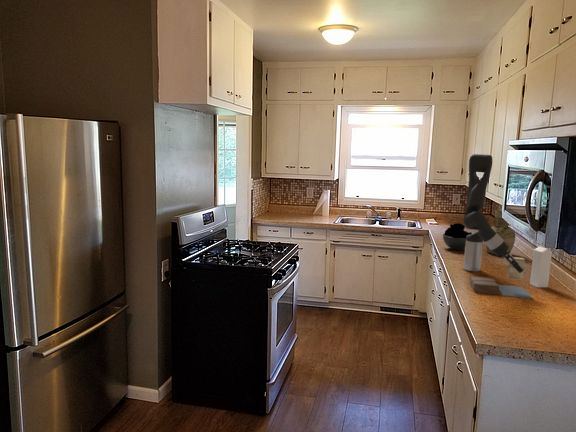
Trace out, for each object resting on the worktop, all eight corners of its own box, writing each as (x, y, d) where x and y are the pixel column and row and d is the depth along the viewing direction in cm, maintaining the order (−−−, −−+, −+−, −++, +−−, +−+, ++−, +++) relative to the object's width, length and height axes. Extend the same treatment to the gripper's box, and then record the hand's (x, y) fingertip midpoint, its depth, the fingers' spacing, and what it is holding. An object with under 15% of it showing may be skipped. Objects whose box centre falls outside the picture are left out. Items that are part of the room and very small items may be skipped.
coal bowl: (466, 247, 324) (469, 222, 321) (475, 253, 304) (478, 226, 301) (438, 246, 326) (441, 220, 323) (445, 251, 306) (448, 225, 303)
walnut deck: (469, 283, 231) (470, 275, 230) (492, 285, 228) (492, 278, 228) (473, 291, 217) (474, 283, 216) (498, 294, 214) (498, 286, 213)
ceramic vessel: (485, 248, 322) (490, 208, 317) (516, 254, 307) (521, 211, 303) (476, 252, 308) (480, 210, 303) (508, 258, 294) (513, 213, 289)
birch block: (507, 276, 221) (509, 256, 219) (520, 277, 219) (522, 258, 218) (509, 278, 217) (511, 258, 215) (522, 279, 215) (525, 259, 214)
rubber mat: (495, 285, 229) (495, 284, 229) (522, 288, 226) (522, 287, 226) (503, 295, 212) (503, 294, 212) (532, 298, 209) (532, 298, 209)
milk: (539, 284, 235) (544, 243, 232) (547, 287, 229) (553, 246, 226) (529, 284, 234) (534, 243, 231) (537, 287, 228) (542, 245, 225)
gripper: (506, 242, 210) (531, 269, 209) (499, 237, 224) (523, 262, 223) (493, 251, 212) (517, 279, 211) (487, 246, 226) (510, 271, 225)
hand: (520, 270), depth 217 cm, fingers closed on birch block, 4 cm apart
